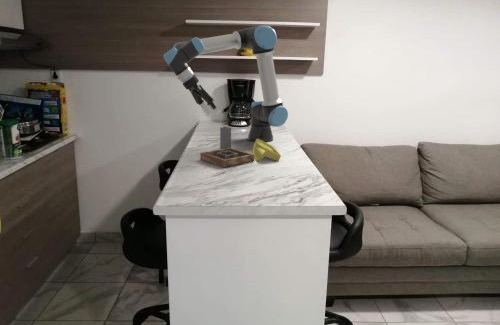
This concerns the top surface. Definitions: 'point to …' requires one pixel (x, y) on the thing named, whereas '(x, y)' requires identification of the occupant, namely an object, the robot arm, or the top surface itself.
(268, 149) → the plastic component
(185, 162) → the top surface
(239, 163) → the box
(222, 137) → the grey tall block
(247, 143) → the top surface
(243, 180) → the top surface
